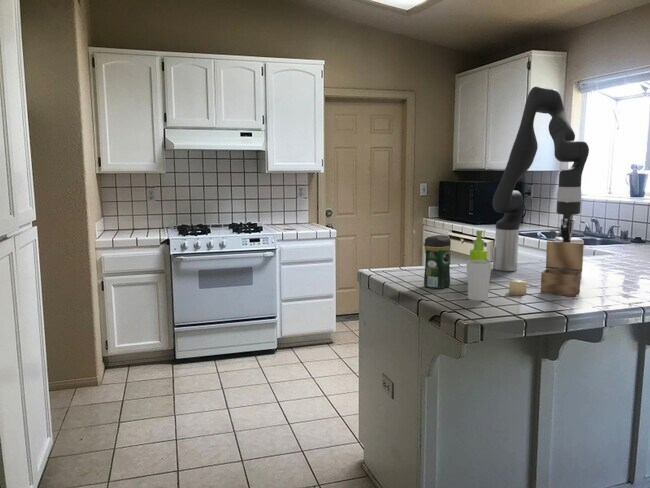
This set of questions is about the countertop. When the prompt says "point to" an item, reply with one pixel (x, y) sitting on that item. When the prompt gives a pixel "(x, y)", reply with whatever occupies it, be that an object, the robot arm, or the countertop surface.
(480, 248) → the soap dispenser
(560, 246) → the lid
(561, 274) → the box
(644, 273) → the countertop surface
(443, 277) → the coffee jar
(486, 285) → the cup
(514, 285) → the domed cream knob
